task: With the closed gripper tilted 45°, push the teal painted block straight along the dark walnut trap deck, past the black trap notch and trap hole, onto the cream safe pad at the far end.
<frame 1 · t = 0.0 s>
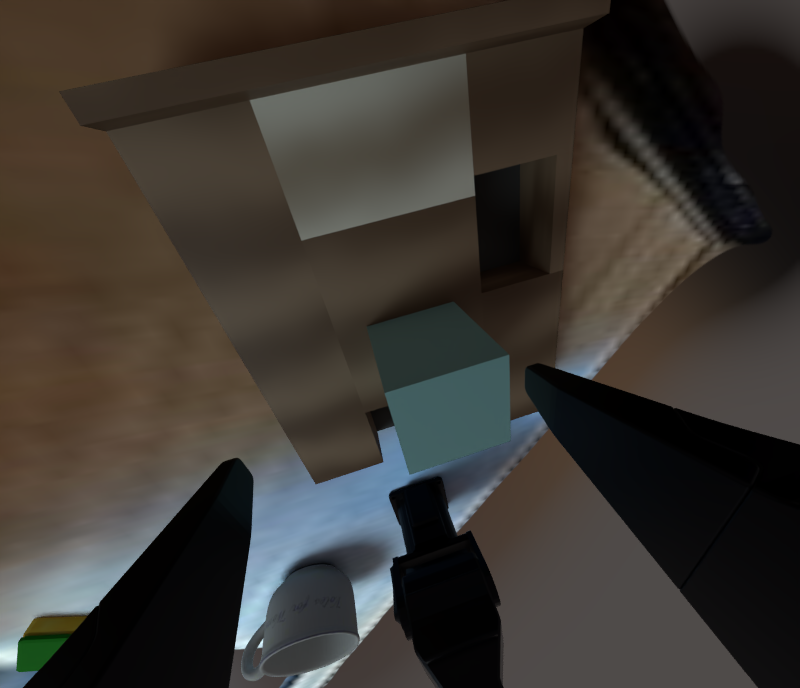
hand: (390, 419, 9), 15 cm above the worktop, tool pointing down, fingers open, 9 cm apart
teal block: (418, 351, 21), point 4 cm above the worktop, touching trap deck
teacup: (302, 578, 39), on the worktop
trap deck: (397, 293, 23), on the worktop
dish sponge: (113, 623, 36), on the worktop
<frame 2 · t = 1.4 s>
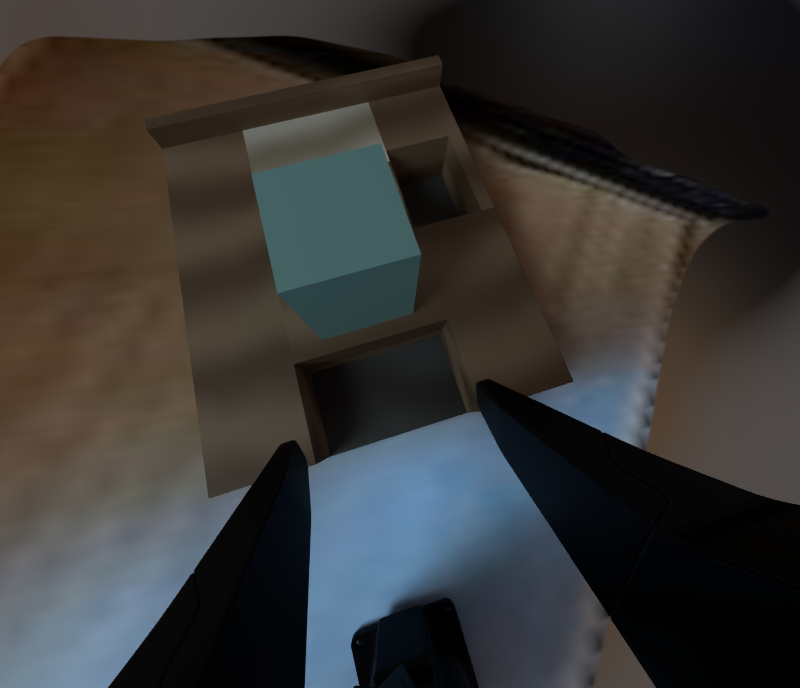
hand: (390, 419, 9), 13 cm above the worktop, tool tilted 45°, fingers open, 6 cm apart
teal block: (355, 285, 19), point 4 cm above the worktop, touching trap deck
trap deck: (353, 274, 24), on the worktop
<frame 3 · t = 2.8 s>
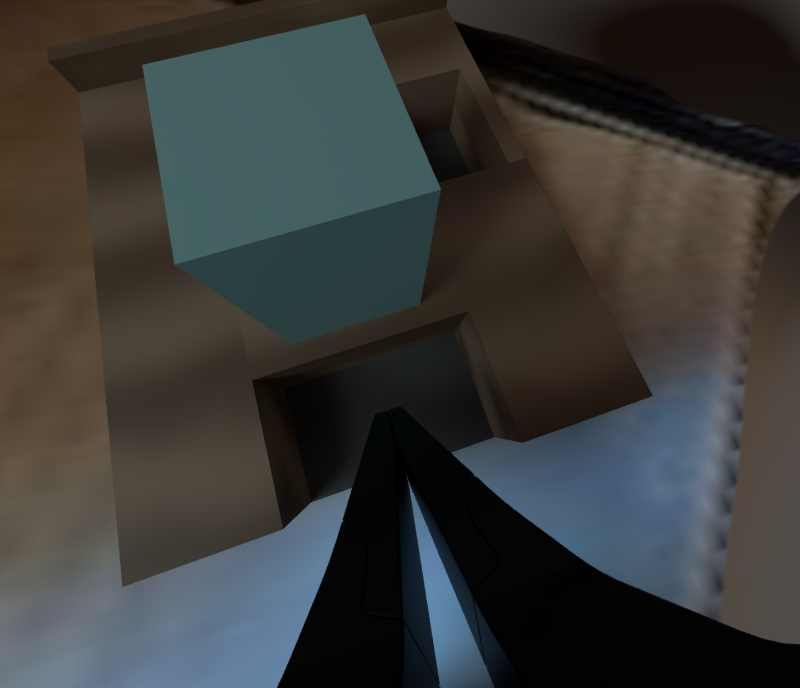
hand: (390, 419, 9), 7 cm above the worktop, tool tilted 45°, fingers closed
teal block: (339, 266, 14), point 4 cm above the worktop, touching trap deck
trap deck: (339, 257, 19), on the worktop
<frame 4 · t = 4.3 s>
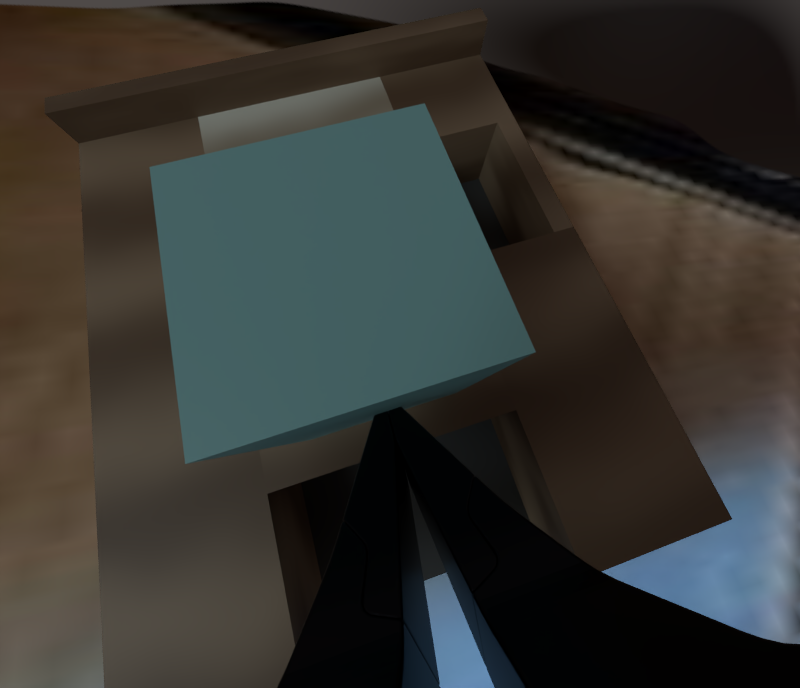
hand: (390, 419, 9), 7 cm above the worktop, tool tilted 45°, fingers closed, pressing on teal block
teal block: (365, 345, 12), point 4 cm above the worktop, touching gripper
trap deck: (360, 320, 17), on the worktop
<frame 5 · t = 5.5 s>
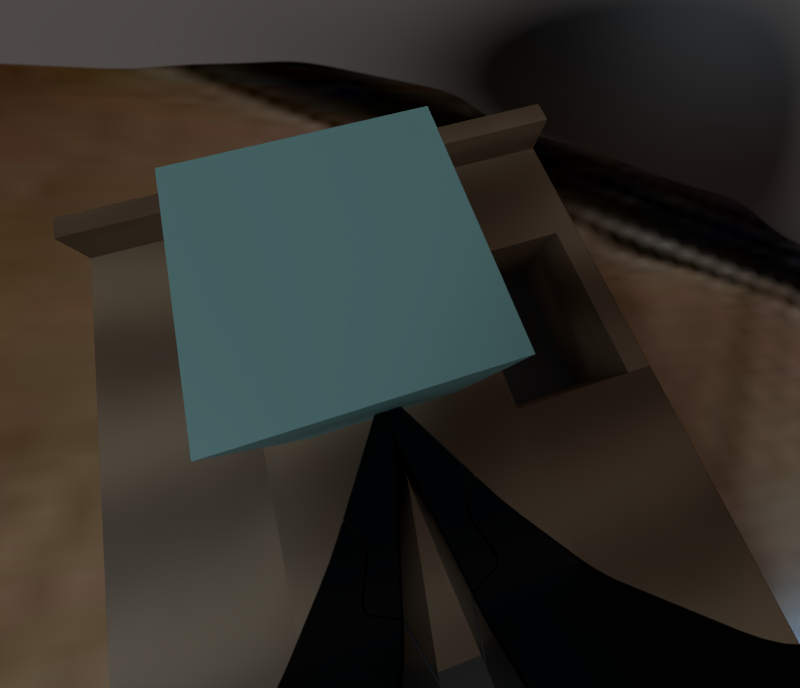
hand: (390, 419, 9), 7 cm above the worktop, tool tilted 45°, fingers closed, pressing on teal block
teal block: (366, 344, 12), point 4 cm above the worktop, touching gripper
trap deck: (398, 441, 15), on the worktop
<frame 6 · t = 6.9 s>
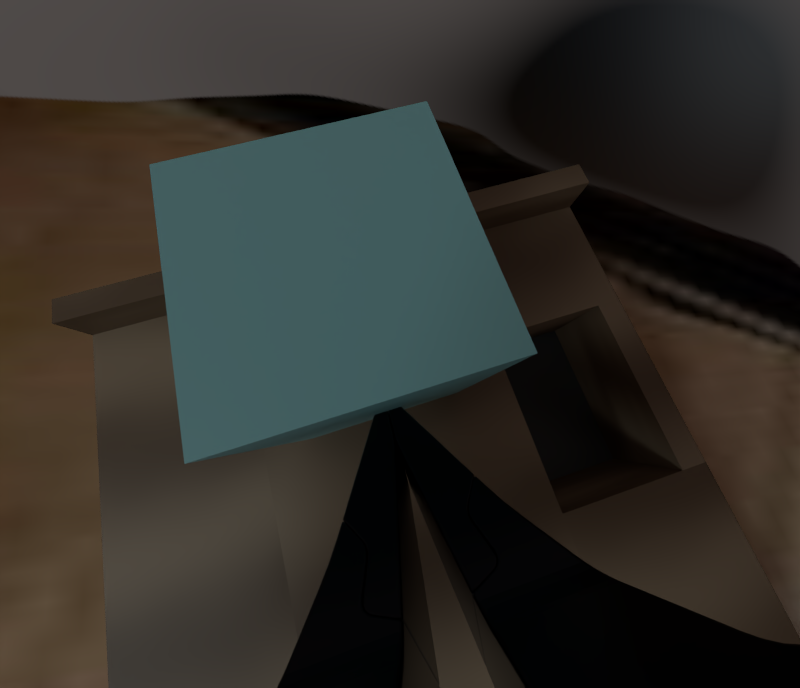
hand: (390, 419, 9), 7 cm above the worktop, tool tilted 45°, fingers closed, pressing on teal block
teal block: (365, 344, 12), point 4 cm above the worktop, touching gripper, trap deck
trap deck: (423, 522, 14), on the worktop
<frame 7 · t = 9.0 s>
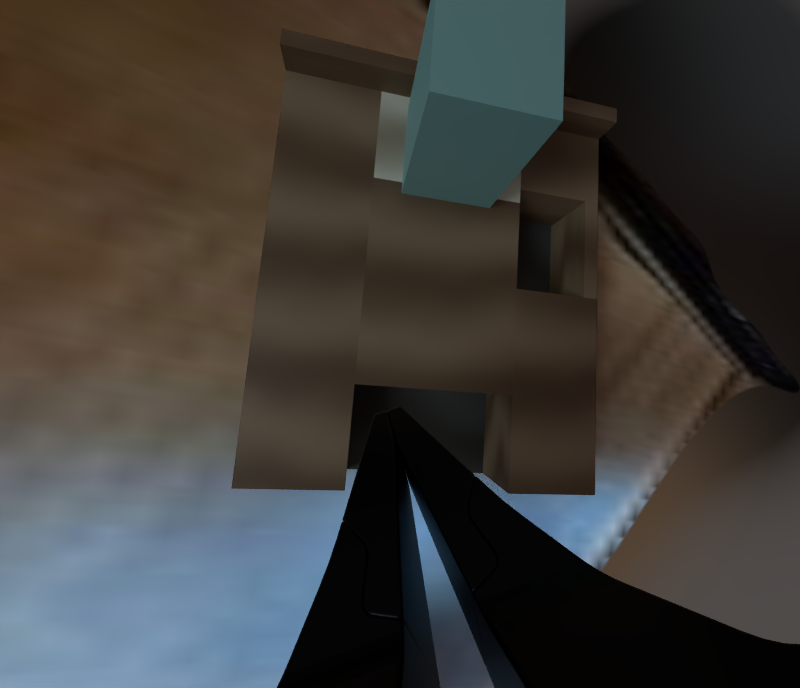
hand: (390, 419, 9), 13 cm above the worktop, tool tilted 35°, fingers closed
teal block: (449, 158, 20), point 4 cm above the worktop, touching trap deck
trap deck: (428, 295, 23), on the worktop
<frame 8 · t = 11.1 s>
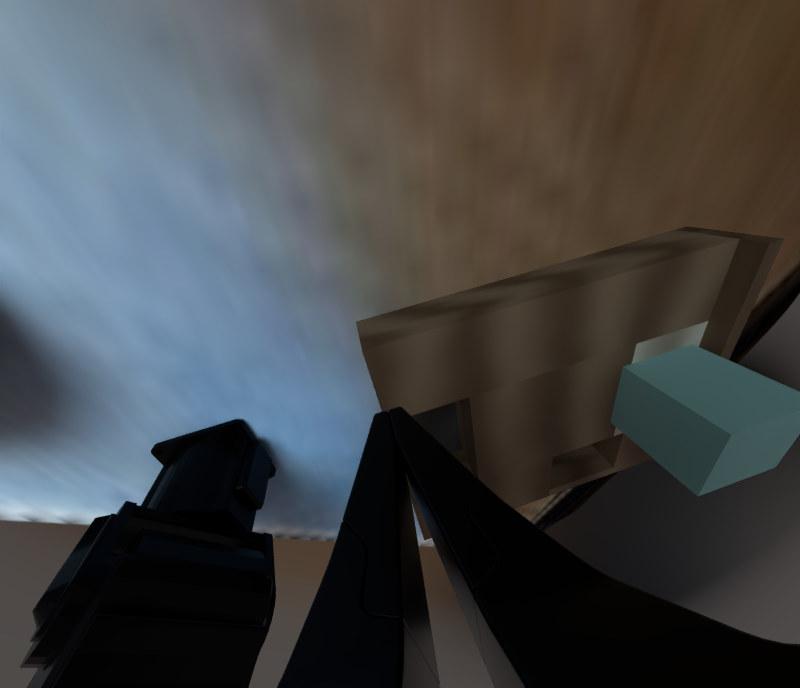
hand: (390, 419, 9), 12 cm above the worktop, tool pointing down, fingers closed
teal block: (648, 385, 24), point 4 cm above the worktop, touching trap deck
trap deck: (527, 387, 27), on the worktop
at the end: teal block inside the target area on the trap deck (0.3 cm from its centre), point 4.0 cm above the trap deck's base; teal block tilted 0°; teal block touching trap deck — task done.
